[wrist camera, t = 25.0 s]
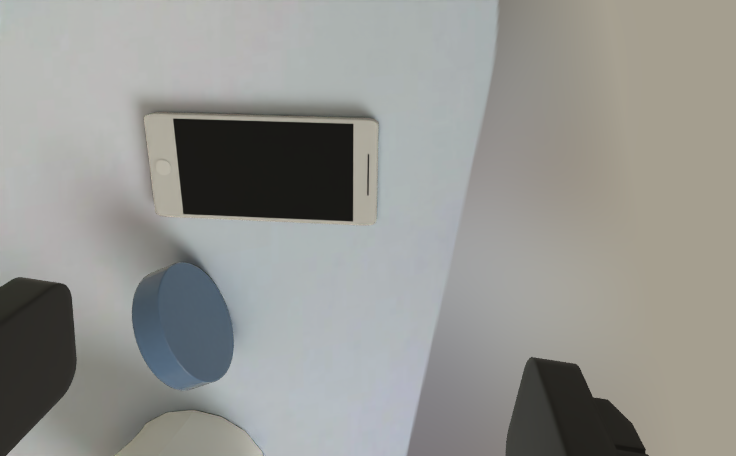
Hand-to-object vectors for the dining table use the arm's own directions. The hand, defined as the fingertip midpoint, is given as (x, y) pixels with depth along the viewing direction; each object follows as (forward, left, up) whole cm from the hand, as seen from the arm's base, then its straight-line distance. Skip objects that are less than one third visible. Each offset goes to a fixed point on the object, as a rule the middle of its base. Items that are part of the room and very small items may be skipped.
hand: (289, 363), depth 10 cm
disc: (+12, +15, -24) cm, 31 cm away
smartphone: (+8, +5, -28) cm, 30 cm away
